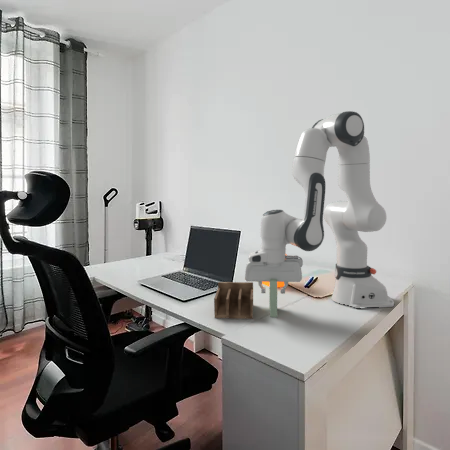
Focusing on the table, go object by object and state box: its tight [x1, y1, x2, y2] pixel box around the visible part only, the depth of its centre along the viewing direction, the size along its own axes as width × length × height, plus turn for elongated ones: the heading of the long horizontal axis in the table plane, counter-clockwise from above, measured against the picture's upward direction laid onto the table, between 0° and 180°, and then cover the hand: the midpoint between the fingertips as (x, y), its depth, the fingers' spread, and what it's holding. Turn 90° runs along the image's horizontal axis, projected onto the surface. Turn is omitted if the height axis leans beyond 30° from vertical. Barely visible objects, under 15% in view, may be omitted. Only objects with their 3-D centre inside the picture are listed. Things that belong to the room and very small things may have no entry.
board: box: [268, 279, 278, 318], centre depth 119 cm, size 2×9×13 cm, turn 175°
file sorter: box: [213, 281, 254, 320], centre depth 121 cm, size 13×13×9 cm
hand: (273, 292), depth 119 cm, fingers open, 5 cm apart
